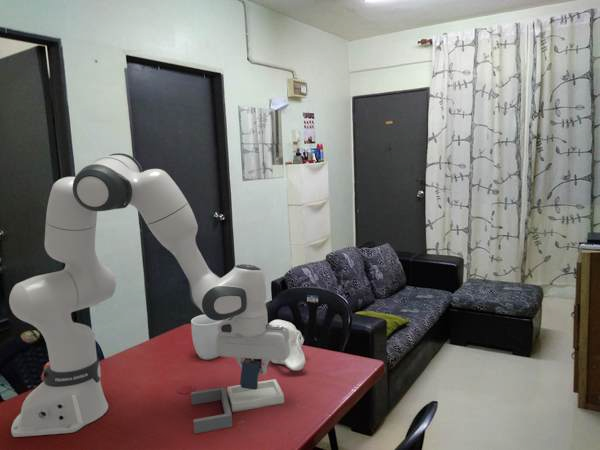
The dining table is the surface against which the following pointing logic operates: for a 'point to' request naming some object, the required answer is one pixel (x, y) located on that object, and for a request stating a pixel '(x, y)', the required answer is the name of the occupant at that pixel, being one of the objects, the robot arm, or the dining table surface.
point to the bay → (212, 421)
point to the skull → (292, 346)
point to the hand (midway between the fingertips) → (254, 372)
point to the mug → (205, 336)
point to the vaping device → (250, 373)
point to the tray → (255, 396)
